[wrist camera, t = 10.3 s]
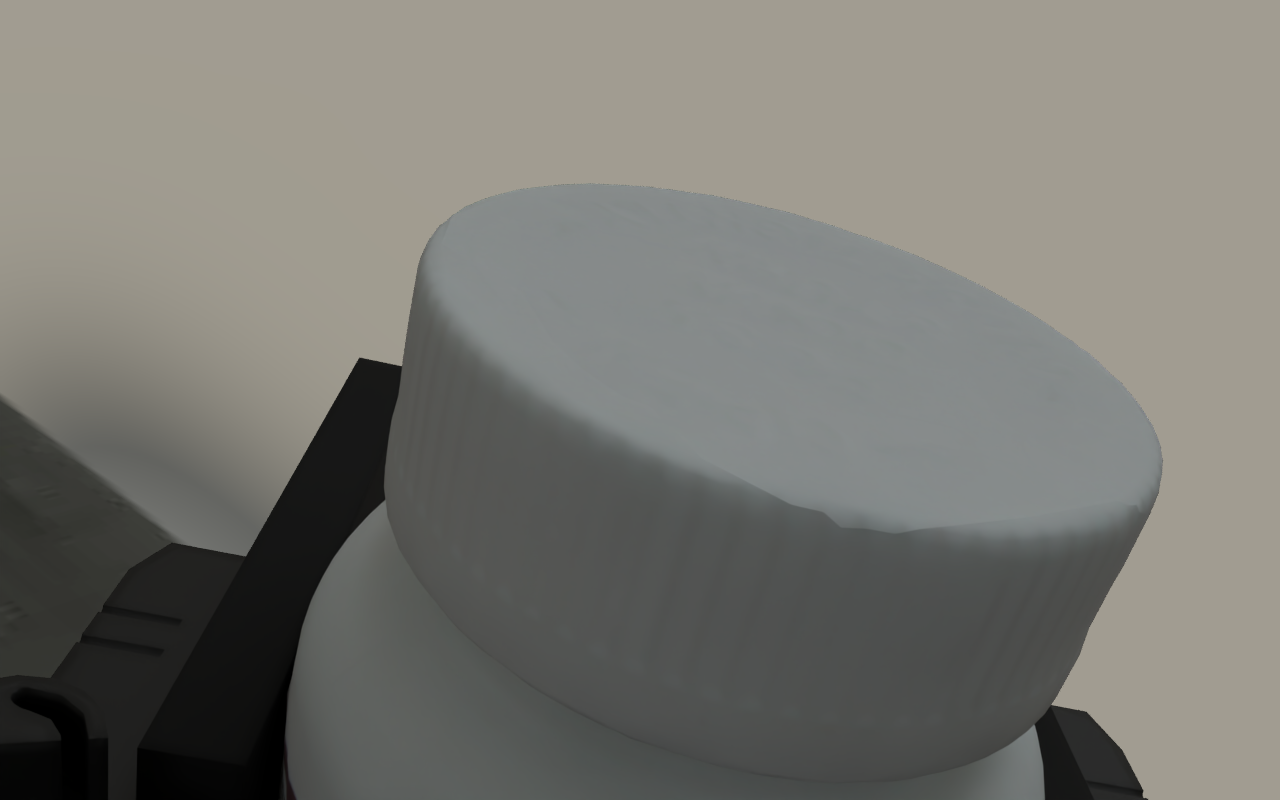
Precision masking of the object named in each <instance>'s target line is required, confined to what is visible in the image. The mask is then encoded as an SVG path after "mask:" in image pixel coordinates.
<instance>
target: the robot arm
mask: <svg viewBox="0 0 1280 800" xmlns="http://www.w3.org/2000/svg"><path fill="white" fill-rule="evenodd" d="M401 372H402V366H397V365H393V364H387V363H383V362H378V361H373V360H369V359H364V358H359V359H358V361H357V363H356V365H355V366H354V368H353V370H352V372H351V373H350V375H349V377H348V379H347V380H346V382H345V384H344V386H343V387H342V389H341V391H340V393H339V394H338V396H337V398H336V400H335V401H334V403H333V405H332V407H331V408H330V410H329V412H328V414H327V415H326V417H325V419H324V421H323V422H322V424H321V426H320V428H319V430H318V431H317V433H316V435H315V436H314V438H313V440H312V442H311V443H310V445H309V447H308V449H307V451H306V452H305V454H304V456H303V458H302V459H301V461H300V463H299V465H298V466H297V468H296V470H295V472H294V473H293V475H292V477H291V479H290V481H289V482H288V484H287V486H286V487H285V489H284V491H283V493H282V495H281V496H280V498H279V500H278V501H277V503H276V505H275V507H274V508H273V510H272V512H271V514H270V516H269V517H268V519H267V521H266V522H265V524H264V526H263V528H262V530H261V531H260V533H259V535H258V537H257V539H256V540H255V542H254V544H253V545H252V547H251V549H250V551H249V552H248V554H247V556H246V557H245V556H239V555H234V554H228V553H223V552H218V551H213V550H208V549H202V548H197V547H192V546H186V545H181V544H176V543H171V544H169V545H167V546H166V547H164V548H163V549H161V550H159V551H158V552H156V553H155V554H153V555H151V556H150V557H148V558H147V559H145V560H143V561H142V562H140V563H138V564H137V565H135V566H134V567H132V568H130V569H129V570H128V572H127V573H126V574H125V576H124V577H123V578H122V580H121V581H120V583H119V584H118V585H117V587H116V588H115V590H114V591H113V592H112V594H111V595H110V596H109V598H108V599H107V601H106V602H105V603H104V605H103V609H102V612H98V613H97V614H96V616H95V617H94V619H93V620H92V621H91V623H90V624H89V626H88V627H87V628H86V630H85V631H84V632H83V634H82V638H81V641H80V643H78V642H76V644H75V645H74V646H73V648H72V649H71V651H70V652H69V653H68V655H67V656H66V657H65V659H64V660H63V662H62V663H61V664H60V666H59V667H58V669H57V670H56V671H55V673H54V674H53V675H52V677H51V678H43V677H32V676H21V675H16V676H9V677H3V678H0V800H278V797H279V783H280V770H281V762H282V757H283V747H284V736H285V724H286V700H287V691H288V688H289V685H290V681H291V677H292V672H293V668H294V663H295V659H296V654H297V649H298V644H299V639H300V634H301V630H302V626H303V623H304V620H305V617H306V614H307V611H308V608H309V605H310V602H311V600H312V598H313V596H314V594H315V591H316V589H317V587H318V585H319V583H320V581H321V579H322V577H323V575H324V573H325V572H326V570H327V568H328V567H329V565H330V563H331V561H332V560H333V558H334V556H335V555H336V554H337V552H338V551H339V550H340V548H341V547H342V546H343V544H344V543H345V541H346V540H347V539H348V537H349V536H350V535H351V534H352V533H353V532H354V531H355V530H356V528H357V527H358V526H359V525H360V524H361V523H362V522H363V521H364V520H365V519H366V518H367V517H368V516H369V514H370V513H372V512H373V511H374V510H375V509H376V508H377V507H378V506H379V505H380V504H381V503H382V502H383V501H385V492H384V477H385V465H386V456H387V448H388V440H389V434H390V427H391V421H392V417H393V413H394V410H395V406H396V402H397V399H398V395H399V388H400V381H401ZM1034 725H1035V728H1036V732H1037V736H1038V741H1039V746H1040V752H1041V757H1042V762H1043V773H1044V792H1045V800H1148V799H1147V798H1143V789H1142V787H1141V785H1140V783H1139V781H1138V780H1137V778H1136V776H1135V774H1134V772H1133V770H1132V768H1131V766H1130V764H1129V762H1128V760H1127V759H1126V756H1125V755H1124V753H1123V751H1122V749H1121V748H1120V747H1119V746H1118V745H1117V744H1116V743H1115V742H1114V741H1113V740H1112V739H1111V738H1110V737H1109V736H1108V734H1106V732H1105V731H1104V730H1103V729H1102V728H1101V727H1100V726H1099V725H1098V724H1097V723H1096V722H1095V721H1094V719H1093V718H1092V717H1091V716H1090V715H1089V714H1088V713H1087V712H1085V711H1080V710H1074V709H1069V708H1063V707H1058V706H1053V705H1050V707H1049V708H1048V710H1047V711H1046V713H1045V714H1044V715H1043V716H1042V717H1041V718H1040V719H1039V720H1038V721H1037V722H1036V723H1035V724H1034Z"/></svg>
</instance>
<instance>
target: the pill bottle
mask: <svg viewBox="0 0 1280 800" xmlns="http://www.w3.org/2000/svg"><path fill="white" fill-rule="evenodd" d="M1162 463H1163V460H1162V454H1161V447H1160V443H1159V441H1158V438H1157V435H1156V433H1155V430H1154V428H1153V426H1152V424H1151V422H1150V421H1149V419H1148V418H1147V416H1146V414H1145V413H1144V411H1143V410H1142V408H1141V407H1140V405H1139V404H1138V403H1137V401H1136V400H1135V399H1134V398H1133V396H1132V395H1131V394H1130V393H1129V392H1128V391H1127V389H1126V388H1125V387H1124V386H1123V384H1122V383H1121V382H1120V381H1119V380H1117V379H1116V378H1115V377H1114V376H1112V375H1111V374H1110V373H1109V372H1108V371H1107V370H1106V369H1105V368H1104V367H1103V366H1102V365H1101V364H1100V363H1099V362H1098V361H1097V360H1096V359H1095V358H1094V357H1092V356H1091V355H1090V354H1089V353H1088V352H1086V351H1085V350H1083V349H1081V348H1080V347H1078V346H1077V345H1076V344H1075V343H1074V342H1073V341H1071V340H1070V339H1068V338H1066V337H1065V336H1063V335H1062V334H1060V333H1059V332H1058V331H1056V330H1055V329H1054V328H1052V327H1051V326H1049V325H1048V324H1046V323H1045V322H1043V321H1042V320H1040V319H1039V318H1037V317H1036V316H1034V315H1032V314H1031V313H1029V312H1028V311H1026V310H1024V309H1023V308H1021V307H1019V306H1017V305H1015V304H1014V303H1012V302H1010V301H1008V300H1007V299H1005V298H1003V297H1001V296H999V295H997V294H996V293H994V292H992V291H990V290H988V289H986V288H985V287H983V286H981V285H979V284H976V283H974V282H973V281H971V280H969V279H967V278H964V277H962V276H960V275H958V274H956V273H954V272H952V271H950V270H948V269H945V268H943V267H941V266H939V265H936V264H934V263H932V262H930V261H928V260H925V259H923V258H921V257H919V256H916V255H914V254H911V253H908V252H906V251H903V250H901V249H898V248H895V247H892V246H890V245H887V244H884V243H882V242H879V241H876V240H874V239H871V238H868V237H864V236H861V235H858V234H855V233H852V232H849V231H846V230H843V229H841V228H838V227H835V226H833V225H829V224H825V223H822V222H819V221H815V220H812V219H809V218H805V217H802V216H799V215H796V214H792V213H789V212H786V211H781V210H776V209H772V208H767V207H763V206H759V205H755V204H750V203H746V202H741V201H737V200H732V199H727V198H722V197H718V196H713V195H705V194H697V193H690V192H683V191H677V190H670V189H660V188H653V187H644V186H643V187H642V186H629V185H628V186H627V185H609V184H567V185H554V186H544V187H535V188H527V189H520V190H515V191H511V192H507V193H503V194H499V195H496V196H493V197H489V198H485V199H483V200H480V201H478V202H476V203H473V204H471V205H469V206H466V207H464V208H463V209H461V210H460V211H459V212H457V213H456V214H454V215H452V216H451V217H450V218H449V219H448V220H447V221H446V222H445V223H443V224H442V225H440V226H439V227H438V229H437V230H436V231H435V233H434V234H433V235H432V237H431V238H430V239H429V241H428V243H427V245H426V247H425V249H424V251H423V253H422V256H421V258H420V262H419V265H418V270H417V276H416V281H415V287H414V293H413V298H412V304H411V310H410V316H409V322H408V329H407V336H406V342H405V349H404V356H403V365H402V372H401V381H400V388H399V395H398V399H397V402H396V406H395V410H394V413H393V417H392V421H391V427H390V434H389V440H388V448H387V456H386V465H385V477H384V492H385V501H383V502H382V503H381V504H380V505H379V506H378V507H377V508H376V509H375V510H374V511H373V512H372V513H370V514H369V516H368V517H367V518H366V519H365V520H364V521H363V522H362V523H361V524H360V525H359V526H358V527H357V528H356V530H355V531H354V532H353V533H352V534H351V535H350V536H349V537H348V539H347V540H346V541H345V543H344V544H343V546H342V547H341V548H340V550H339V551H338V552H337V554H336V555H335V556H334V558H333V560H332V561H331V563H330V565H329V567H328V568H327V570H326V572H325V573H324V575H323V577H322V579H321V581H320V583H319V585H318V587H317V589H316V591H315V594H314V596H313V598H312V600H311V602H310V605H309V608H308V611H307V614H306V617H305V620H304V623H303V626H302V630H301V634H300V639H299V644H298V649H297V654H296V659H295V663H294V668H293V672H292V677H291V681H290V685H289V688H288V691H287V700H286V724H285V736H284V747H283V757H282V762H281V770H280V783H279V797H278V800H1045V792H1044V773H1043V762H1042V757H1041V752H1040V746H1039V741H1038V736H1037V732H1036V728H1035V725H1034V724H1035V723H1036V722H1037V721H1038V720H1039V719H1040V718H1041V717H1042V716H1043V715H1044V714H1045V713H1046V711H1047V710H1048V708H1049V707H1050V705H1051V704H1052V702H1053V701H1054V700H1055V698H1056V696H1057V695H1058V693H1059V691H1060V689H1061V688H1062V686H1063V684H1064V682H1065V680H1066V679H1067V677H1068V675H1069V673H1070V671H1071V669H1072V667H1073V666H1074V664H1075V662H1076V660H1077V659H1078V657H1079V655H1080V652H1081V649H1082V646H1083V643H1084V641H1085V638H1086V635H1087V632H1088V629H1089V627H1090V625H1091V623H1092V622H1093V620H1094V618H1095V616H1096V614H1097V612H1098V610H1099V608H1100V607H1101V605H1102V603H1103V601H1104V599H1105V597H1106V595H1107V594H1108V592H1109V590H1110V588H1111V586H1112V584H1113V583H1114V581H1115V579H1116V577H1117V576H1118V574H1119V573H1120V571H1121V569H1122V567H1123V566H1124V564H1125V562H1126V560H1127V558H1128V556H1129V554H1130V552H1131V550H1132V548H1133V546H1134V544H1135V542H1136V540H1137V538H1138V536H1139V534H1140V532H1141V530H1142V528H1143V526H1144V525H1145V523H1146V521H1147V519H1148V517H1149V515H1150V512H1151V510H1152V508H1153V505H1154V503H1155V500H1156V498H1157V496H1158V493H1159V487H1160V481H1161V475H1162Z"/></svg>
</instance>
